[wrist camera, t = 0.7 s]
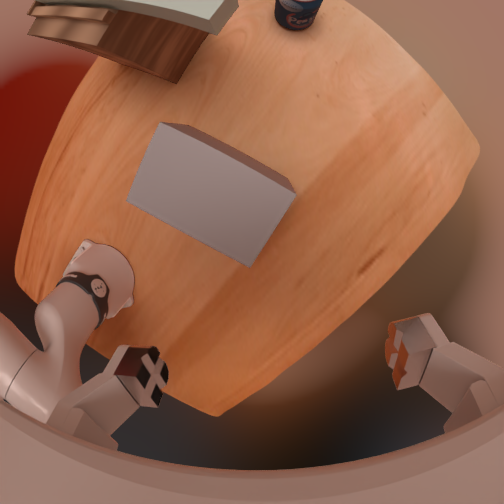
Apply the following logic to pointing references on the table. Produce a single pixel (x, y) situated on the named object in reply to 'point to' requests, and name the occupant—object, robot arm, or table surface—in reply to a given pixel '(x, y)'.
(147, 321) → the table surface
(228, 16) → the batten
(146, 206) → the block
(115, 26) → the stand
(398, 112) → the table surface
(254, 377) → the table surface
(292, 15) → the soda can
